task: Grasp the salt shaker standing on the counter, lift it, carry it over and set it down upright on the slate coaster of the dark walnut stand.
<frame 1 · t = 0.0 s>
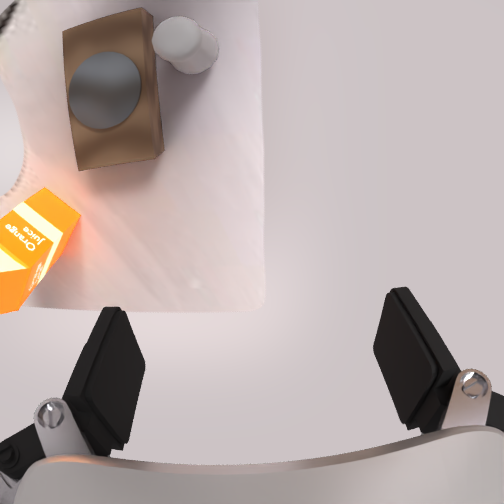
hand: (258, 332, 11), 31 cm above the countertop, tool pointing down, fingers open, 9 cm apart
walnut stand: (119, 88, 33), on the countertop
orange juice: (53, 221, 41), on the countertop
salt shaker: (196, 52, 32), on the countertop
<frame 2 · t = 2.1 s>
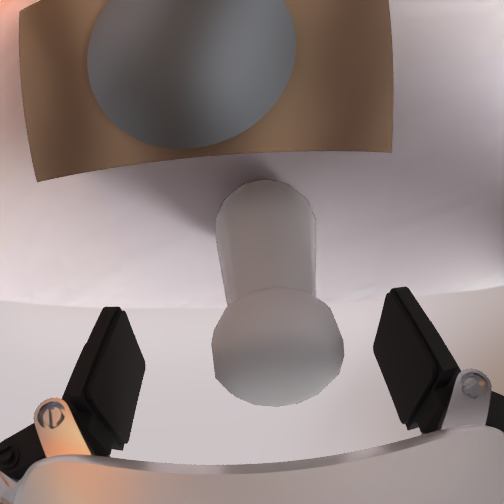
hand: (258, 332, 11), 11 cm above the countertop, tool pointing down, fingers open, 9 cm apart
walnut stand: (203, 58, 15), on the countertop
salt shaker: (263, 212, 20), on the countertop
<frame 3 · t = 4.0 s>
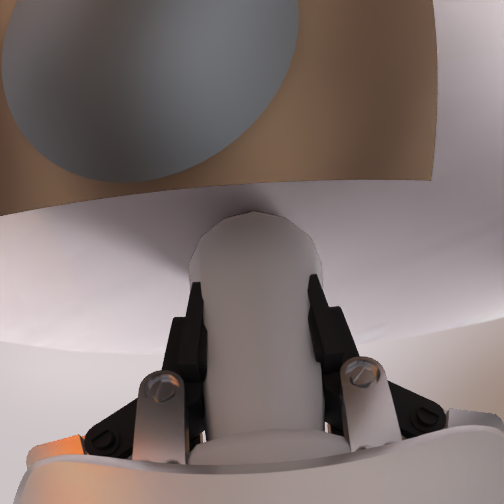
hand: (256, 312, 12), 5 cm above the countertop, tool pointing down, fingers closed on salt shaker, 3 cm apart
walnut stand: (168, 48, 11), on the countertop
salt shaker: (252, 248, 16), on the countertop, touching gripper
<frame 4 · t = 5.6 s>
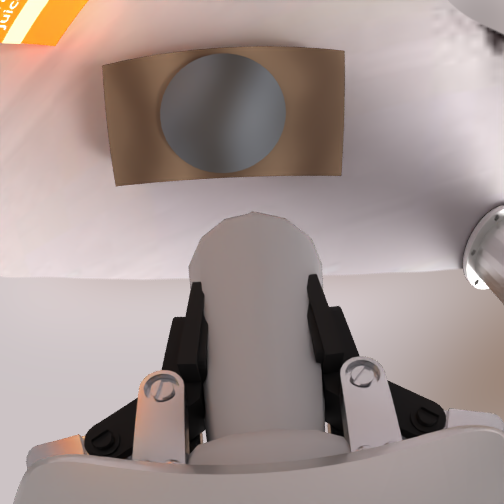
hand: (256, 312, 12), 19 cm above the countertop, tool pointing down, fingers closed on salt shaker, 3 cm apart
walnut stand: (225, 108, 26), on the countertop
salt shaker: (253, 248, 16), point 14 cm above the countertop, touching gripper
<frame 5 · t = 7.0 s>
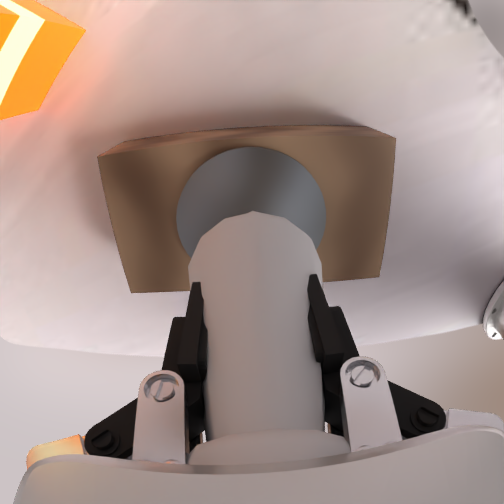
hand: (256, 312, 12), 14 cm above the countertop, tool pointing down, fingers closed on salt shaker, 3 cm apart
walnut stand: (249, 193, 24), on the countertop
orange juice: (30, 49, 16), on the countertop
salt shaker: (252, 248, 16), point 9 cm above the countertop, touching gripper
when the fingers open (12 cm above the countertop, at t = 7.7 s): salt shaker stays where it is, resting on walnut stand.
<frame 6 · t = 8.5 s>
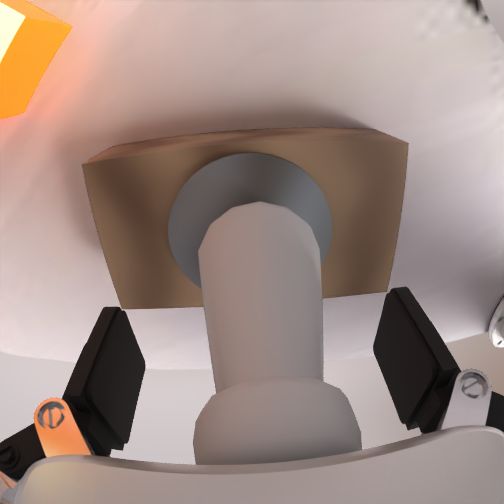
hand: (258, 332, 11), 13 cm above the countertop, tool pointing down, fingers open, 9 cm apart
walnut stand: (248, 201, 22), on the countertop
orange juice: (15, 48, 15), on the countertop
salt shaker: (256, 236, 17), point 5 cm above the countertop, touching walnut stand
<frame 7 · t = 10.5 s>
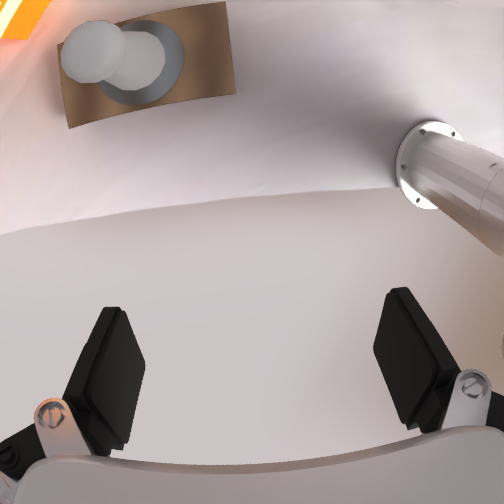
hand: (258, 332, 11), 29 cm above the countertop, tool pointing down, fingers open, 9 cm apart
walnut stand: (150, 65, 29), on the countertop
orange juice: (23, 6, 22), on the countertop
salt shaker: (141, 62, 25), point 5 cm above the countertop, touching walnut stand
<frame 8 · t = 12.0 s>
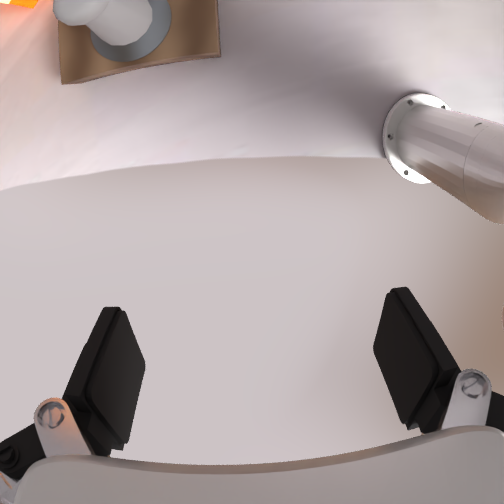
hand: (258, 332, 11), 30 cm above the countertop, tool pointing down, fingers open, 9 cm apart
walnut stand: (143, 30, 29), on the countertop
salt shaker: (132, 23, 24), point 5 cm above the countertop, touching walnut stand
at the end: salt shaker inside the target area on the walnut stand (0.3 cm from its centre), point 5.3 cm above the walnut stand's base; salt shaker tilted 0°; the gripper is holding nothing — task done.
